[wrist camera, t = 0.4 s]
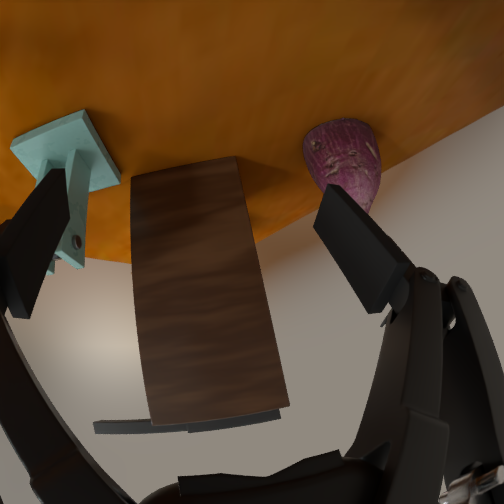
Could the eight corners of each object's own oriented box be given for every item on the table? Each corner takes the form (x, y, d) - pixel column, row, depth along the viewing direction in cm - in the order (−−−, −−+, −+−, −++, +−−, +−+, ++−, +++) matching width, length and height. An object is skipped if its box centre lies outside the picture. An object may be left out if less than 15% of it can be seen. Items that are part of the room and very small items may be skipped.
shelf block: (130, 177, 37) (152, 425, 26) (235, 155, 38) (290, 406, 27) (155, 220, 48) (179, 412, 37) (239, 203, 49) (280, 396, 38)
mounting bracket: (13, 139, 24) (-17, 250, 19) (84, 108, 25) (62, 225, 20) (58, 193, 36) (49, 289, 30) (121, 174, 36) (120, 275, 31)
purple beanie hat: (315, 155, 46) (325, 249, 44) (287, 126, 37) (298, 240, 35) (379, 141, 41) (396, 240, 39) (365, 106, 32) (389, 227, 30)
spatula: (83, 423, 28) (86, 436, 27) (278, 405, 29) (281, 419, 28) (108, 418, 34) (110, 429, 33) (274, 399, 36) (276, 411, 35)
